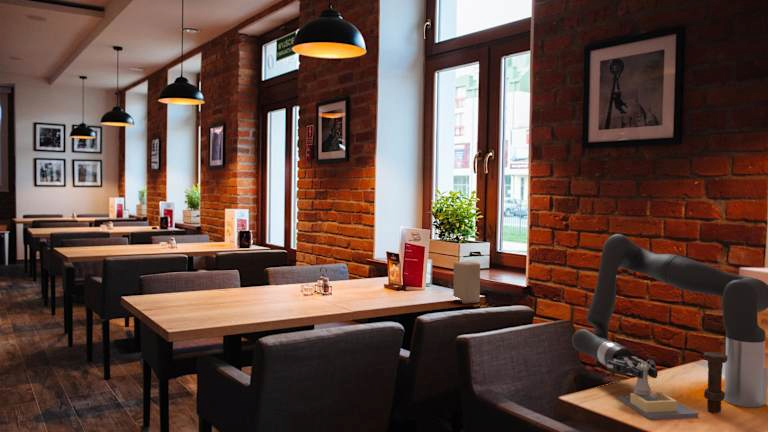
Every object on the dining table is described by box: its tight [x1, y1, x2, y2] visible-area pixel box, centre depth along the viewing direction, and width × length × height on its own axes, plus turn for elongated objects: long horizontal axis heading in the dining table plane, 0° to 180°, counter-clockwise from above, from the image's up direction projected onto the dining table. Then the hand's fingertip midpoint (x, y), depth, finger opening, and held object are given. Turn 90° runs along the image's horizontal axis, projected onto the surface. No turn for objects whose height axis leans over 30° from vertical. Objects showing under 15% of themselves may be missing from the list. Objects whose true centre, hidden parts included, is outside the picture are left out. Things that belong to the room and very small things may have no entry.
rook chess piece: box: [632, 363, 652, 396], centre depth 172 cm, size 4×4×8 cm
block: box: [452, 260, 481, 304], centre depth 327 cm, size 10×10×20 cm
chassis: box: [618, 391, 699, 421], centre depth 169 cm, size 13×15×4 cm
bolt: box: [702, 351, 728, 414], centre depth 166 cm, size 6×5×15 cm
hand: (648, 374), depth 169 cm, fingers closed on rook chess piece, 3 cm apart
